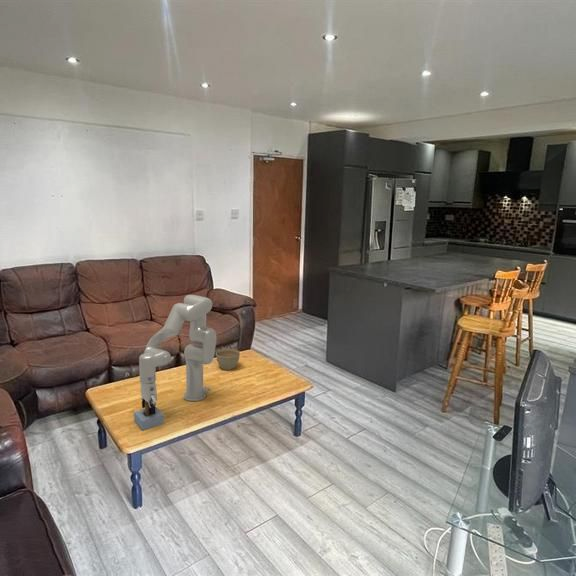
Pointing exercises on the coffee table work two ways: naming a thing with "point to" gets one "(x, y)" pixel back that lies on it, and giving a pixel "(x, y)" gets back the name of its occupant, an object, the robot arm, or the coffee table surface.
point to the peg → (147, 408)
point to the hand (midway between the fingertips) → (148, 410)
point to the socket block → (148, 419)
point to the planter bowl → (227, 358)
